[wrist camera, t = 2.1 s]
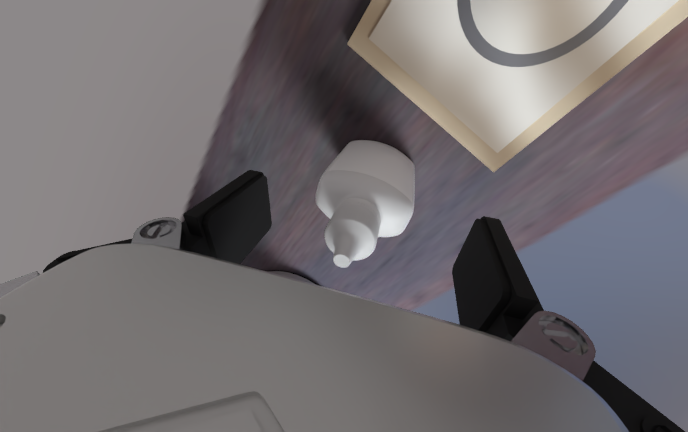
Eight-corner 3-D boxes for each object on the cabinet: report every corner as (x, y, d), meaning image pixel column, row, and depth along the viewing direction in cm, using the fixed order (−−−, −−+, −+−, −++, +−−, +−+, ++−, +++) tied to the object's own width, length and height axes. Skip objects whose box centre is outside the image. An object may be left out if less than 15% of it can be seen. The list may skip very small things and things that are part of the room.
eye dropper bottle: (375, 116, 18) (328, 178, 8) (422, 172, 19) (430, 285, 9) (336, 154, 20) (260, 239, 10) (380, 202, 21) (350, 318, 12)
